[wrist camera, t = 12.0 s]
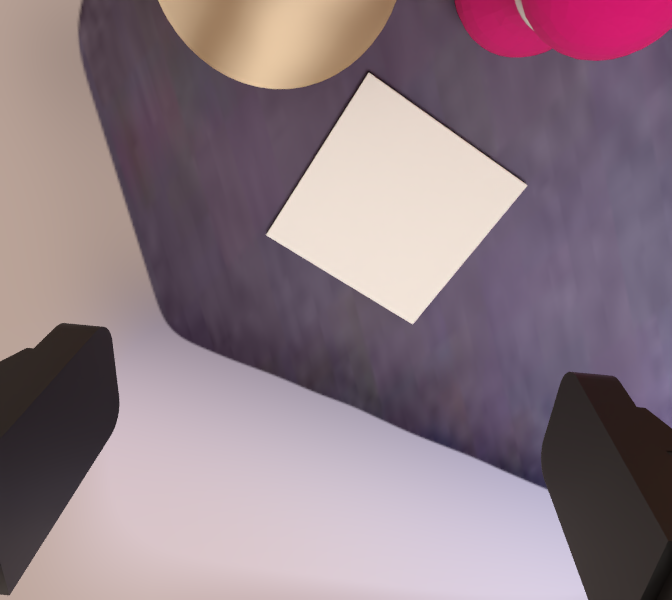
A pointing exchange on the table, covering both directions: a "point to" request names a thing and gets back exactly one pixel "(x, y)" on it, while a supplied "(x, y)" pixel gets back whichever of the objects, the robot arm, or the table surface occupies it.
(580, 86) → the table surface
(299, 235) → the mat
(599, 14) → the pepper mill
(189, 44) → the lid
